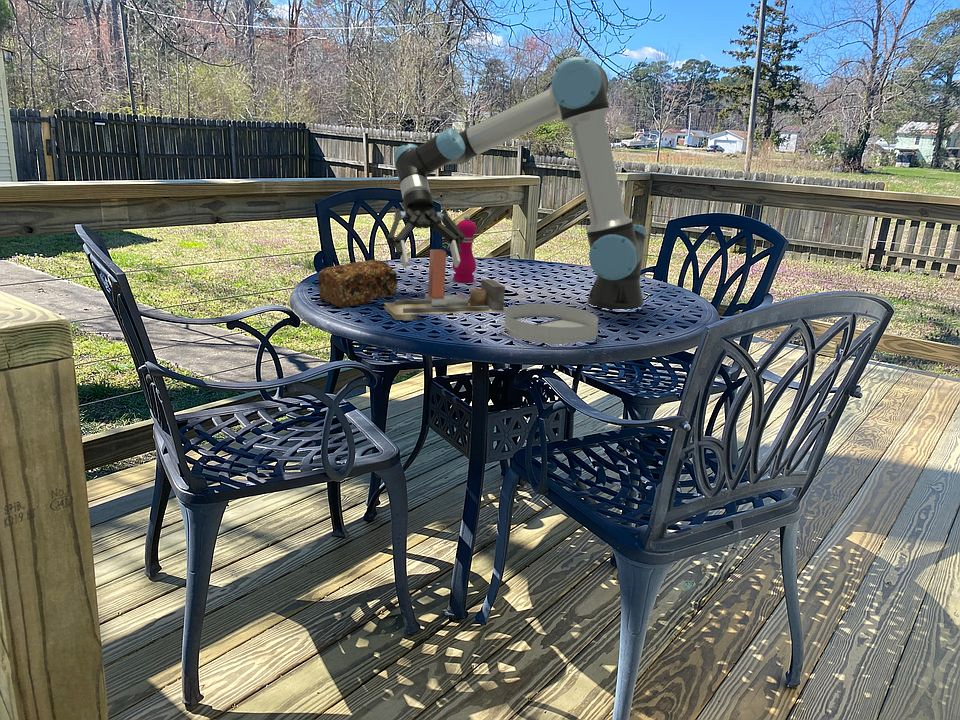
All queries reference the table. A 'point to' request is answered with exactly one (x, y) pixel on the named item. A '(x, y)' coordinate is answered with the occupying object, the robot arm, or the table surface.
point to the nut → (477, 297)
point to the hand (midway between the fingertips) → (432, 264)
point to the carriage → (440, 283)
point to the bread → (357, 283)
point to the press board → (418, 306)
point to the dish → (551, 324)
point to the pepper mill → (466, 252)
